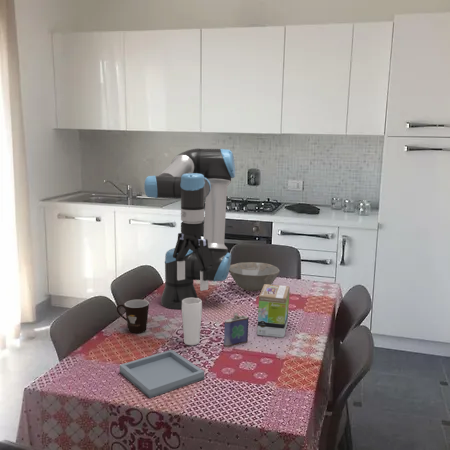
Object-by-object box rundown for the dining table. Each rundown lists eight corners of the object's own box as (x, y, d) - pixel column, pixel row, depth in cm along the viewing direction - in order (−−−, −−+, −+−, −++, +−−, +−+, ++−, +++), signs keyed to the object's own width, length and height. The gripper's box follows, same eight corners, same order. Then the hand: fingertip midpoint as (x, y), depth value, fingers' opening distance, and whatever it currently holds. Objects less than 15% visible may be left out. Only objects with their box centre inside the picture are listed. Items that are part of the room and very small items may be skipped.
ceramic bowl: (280, 298, 217) (281, 275, 215) (227, 297, 218) (228, 274, 216) (276, 282, 239) (277, 262, 237) (228, 281, 239) (228, 261, 237)
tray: (119, 372, 149) (119, 364, 149) (171, 356, 160) (171, 349, 159) (149, 398, 135) (149, 389, 135) (204, 378, 146) (204, 371, 145)
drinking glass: (194, 348, 166) (194, 305, 163) (177, 343, 169) (177, 301, 167) (205, 341, 171) (205, 299, 169) (189, 337, 175) (189, 296, 172)
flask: (226, 347, 167) (226, 317, 165) (221, 344, 170) (222, 314, 168) (249, 342, 172) (250, 312, 170) (244, 339, 174) (245, 309, 172)
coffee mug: (154, 330, 181) (153, 303, 179) (134, 336, 175) (134, 309, 173) (134, 321, 188) (134, 296, 187) (115, 327, 182) (114, 301, 180)
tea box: (285, 338, 175) (286, 297, 173) (256, 335, 177) (257, 295, 175) (288, 322, 190) (289, 285, 187) (262, 320, 192) (263, 283, 189)
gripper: (162, 217, 170) (163, 277, 174) (205, 229, 151) (204, 296, 155) (181, 215, 175) (181, 274, 178) (225, 226, 155) (224, 292, 159)
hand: (192, 284), depth 167 cm, fingers open, 13 cm apart
